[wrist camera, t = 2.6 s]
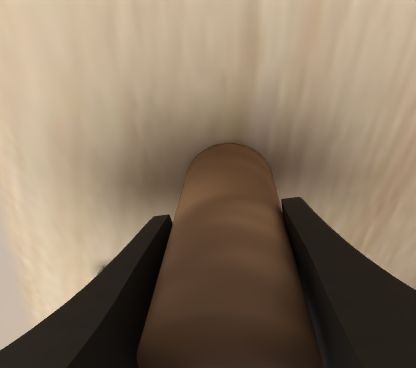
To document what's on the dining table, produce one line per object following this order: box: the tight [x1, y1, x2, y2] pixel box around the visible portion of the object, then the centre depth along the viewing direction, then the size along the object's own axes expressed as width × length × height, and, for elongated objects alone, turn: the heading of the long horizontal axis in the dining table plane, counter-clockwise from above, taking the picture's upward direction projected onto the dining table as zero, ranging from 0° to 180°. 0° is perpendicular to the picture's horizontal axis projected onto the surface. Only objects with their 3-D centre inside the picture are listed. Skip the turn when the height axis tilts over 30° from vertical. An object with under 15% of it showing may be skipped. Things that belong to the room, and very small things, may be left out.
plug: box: [137, 144, 323, 368], centre depth 10 cm, size 4×4×8 cm
